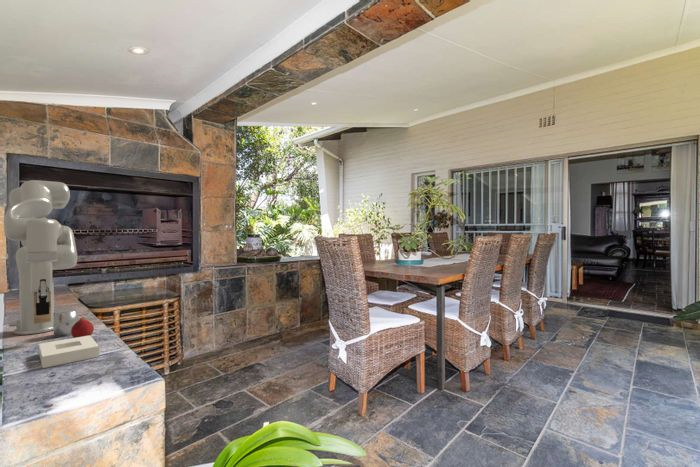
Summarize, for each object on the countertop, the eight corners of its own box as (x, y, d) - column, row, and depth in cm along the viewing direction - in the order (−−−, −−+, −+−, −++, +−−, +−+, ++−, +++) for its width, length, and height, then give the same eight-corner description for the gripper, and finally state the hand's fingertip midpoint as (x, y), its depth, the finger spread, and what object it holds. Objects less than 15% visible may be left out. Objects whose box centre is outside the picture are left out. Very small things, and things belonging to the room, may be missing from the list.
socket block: (39, 354, 102) (39, 343, 102) (90, 344, 110) (89, 335, 110) (42, 368, 90) (42, 356, 90) (98, 356, 99) (98, 345, 99)
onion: (84, 344, 111) (83, 318, 111) (66, 344, 111) (66, 319, 111) (97, 338, 117) (97, 314, 117) (80, 339, 117) (80, 315, 117)
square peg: (33, 321, 114) (33, 290, 114) (50, 319, 117) (49, 289, 116) (34, 323, 111) (34, 292, 111) (50, 321, 114) (50, 290, 113)
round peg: (48, 337, 119) (48, 314, 120) (62, 332, 126) (62, 310, 126) (69, 336, 120) (69, 313, 120) (82, 331, 127) (81, 309, 127)
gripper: (25, 255, 117) (25, 310, 117) (26, 259, 105) (27, 320, 105) (54, 254, 122) (55, 307, 122) (59, 258, 110) (59, 316, 110)
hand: (42, 312), depth 114 cm, fingers closed on square peg, 4 cm apart
